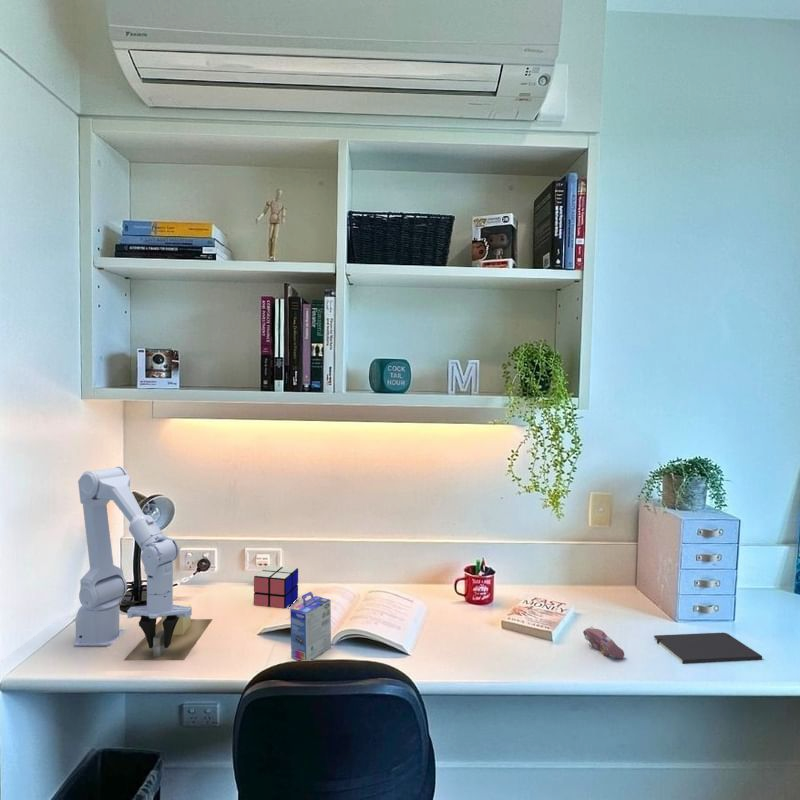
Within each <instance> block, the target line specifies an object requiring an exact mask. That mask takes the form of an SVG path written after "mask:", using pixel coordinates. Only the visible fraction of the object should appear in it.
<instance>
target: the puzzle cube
mask: <svg viewBox="0 0 800 800" xmlns="http://www.w3.org/2000/svg"><path fill="white" fill-rule="evenodd" d="M298 584H299V568H298V567H292V566H291V567H290V566H281V565H279V566H278V565H267V566H266V567H265V568H264V569H262V570H261V571H260V572H258V573H257V574H255V575H254V576H253V592H254V593H253V606H254V607H263V608H273V609H283V610H284V609H288V608H289V607H290V605H291V604H292V603H293V602H294V601H295V600H296V599H297V598H298V599H299V585H298ZM290 608H291V607H290Z"/></svg>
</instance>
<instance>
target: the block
mask: <svg viewBox="0 0 800 800" xmlns="http://www.w3.org/2000/svg"><path fill="white" fill-rule="evenodd" d="M178 605H179V606H185V607H192V606H191V604H178ZM191 616H192V615H191ZM191 616H190V617H189V618H185V617H179V619H178V621H177V624H176V626H175V628H174V631H173V635H183V634H184V633H185V632H186V630H187V629H188V628H189V627H190V620H191V619H192V618H191ZM166 618H167V617H161V619H162V622H163V621H164V620H165V619H166ZM162 631H164V628H163V624H162Z"/></svg>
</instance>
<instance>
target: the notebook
mask: <svg viewBox="0 0 800 800" xmlns="http://www.w3.org/2000/svg"><path fill="white" fill-rule="evenodd" d="M653 638H654V642H656V644H657V645H660V646H661V647H662V648H663V649H665V650H666V651H667V652H668V653H669V654H671V656H673V657H674V658H675V659H677V661H679V662H681V663H682V664H683V665H684V664H685V665H686V664H702V663H703V664H706V663H710V664H711V663H726V662H727V663H729V662H745V661H747V662H748V661H749V662H751V661H762V660H763V656H762V655H761V654H760V653H758V652H757V651H755V650H754V649H752V648H750V647H749V646H747V645H746V644H744V643H743V642H741V641H740V640H738V639H737V638H735V637H733V636H732V635H730V634H729V633H727V632H704V633H683V634H682V633H680V634H659V635H657V634H656V635H654V636H653Z"/></svg>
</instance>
